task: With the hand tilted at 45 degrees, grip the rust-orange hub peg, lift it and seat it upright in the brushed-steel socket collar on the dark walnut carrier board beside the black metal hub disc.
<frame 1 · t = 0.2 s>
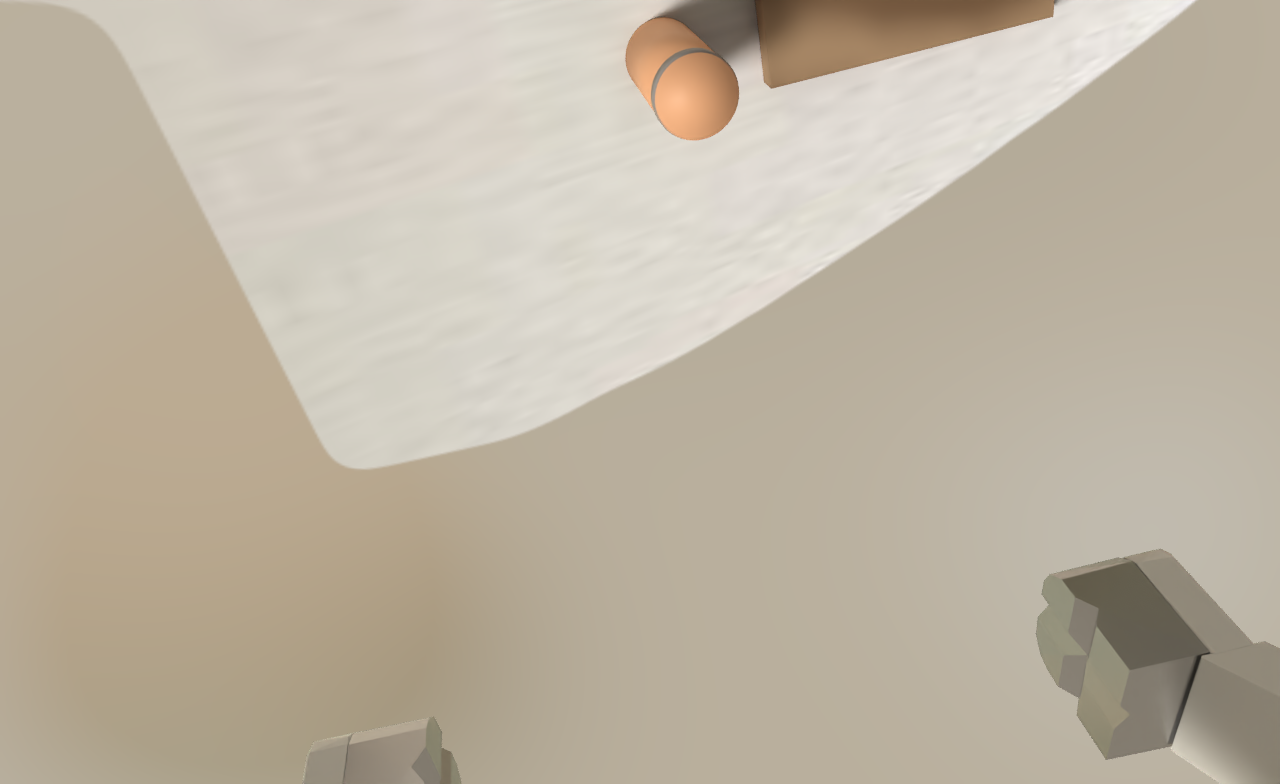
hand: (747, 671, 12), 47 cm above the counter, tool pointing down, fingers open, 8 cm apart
hub peg: (661, 56, 54), on the counter
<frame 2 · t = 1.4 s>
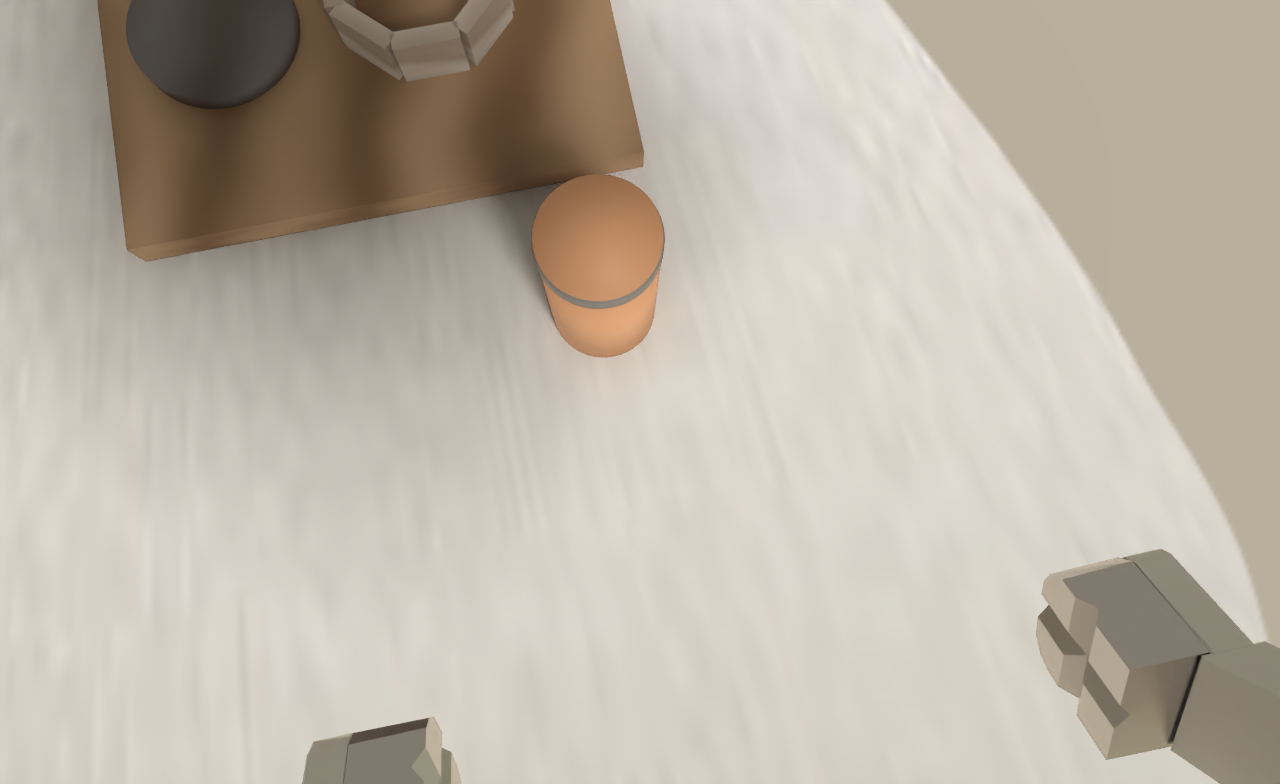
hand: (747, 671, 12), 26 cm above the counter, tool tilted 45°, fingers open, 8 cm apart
carrier board: (366, 29, 41), on the counter
hub peg: (603, 307, 39), on the counter
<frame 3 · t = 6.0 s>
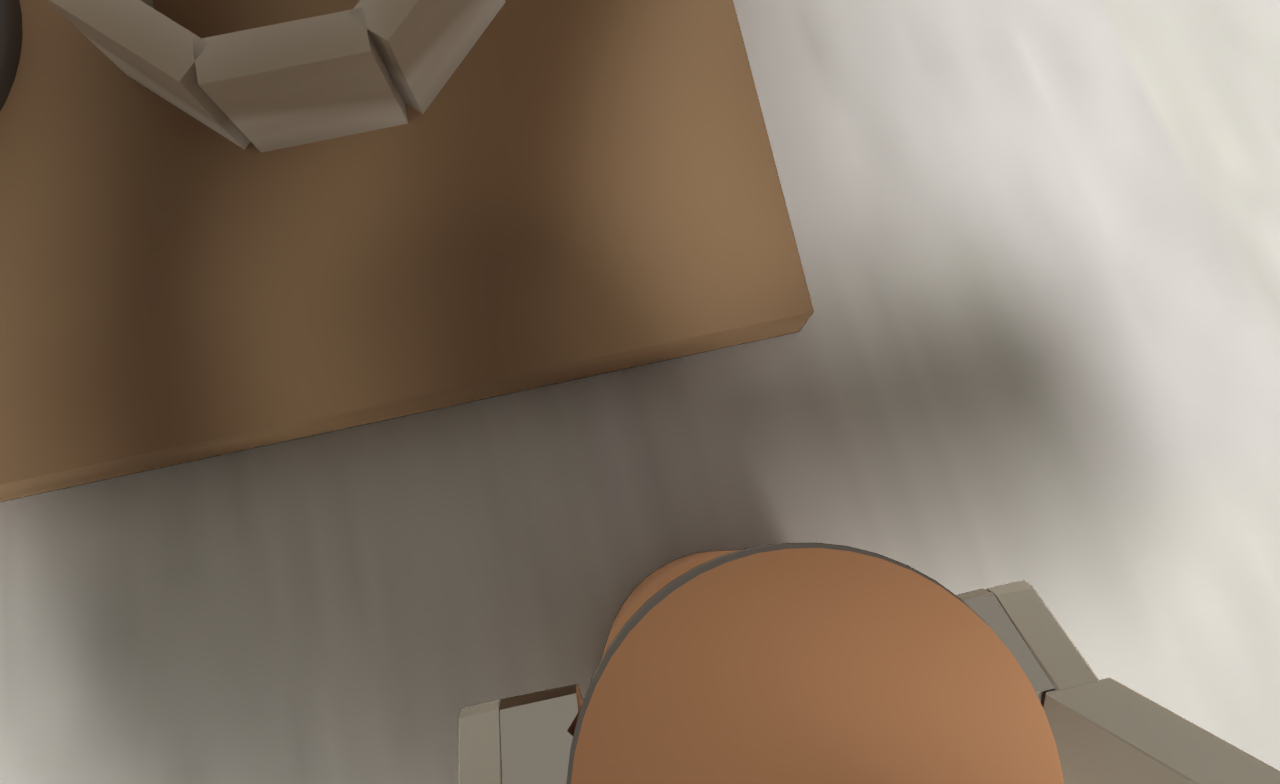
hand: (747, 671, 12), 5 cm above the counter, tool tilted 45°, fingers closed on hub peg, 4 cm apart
carrier board: (188, 33, 19), on the counter
hub peg: (721, 670, 17), on the counter, touching gripper
when the fingers open (8 cm above the counter, at t = 11.3 s): hub peg drops 1 cm, resting on carrier board.
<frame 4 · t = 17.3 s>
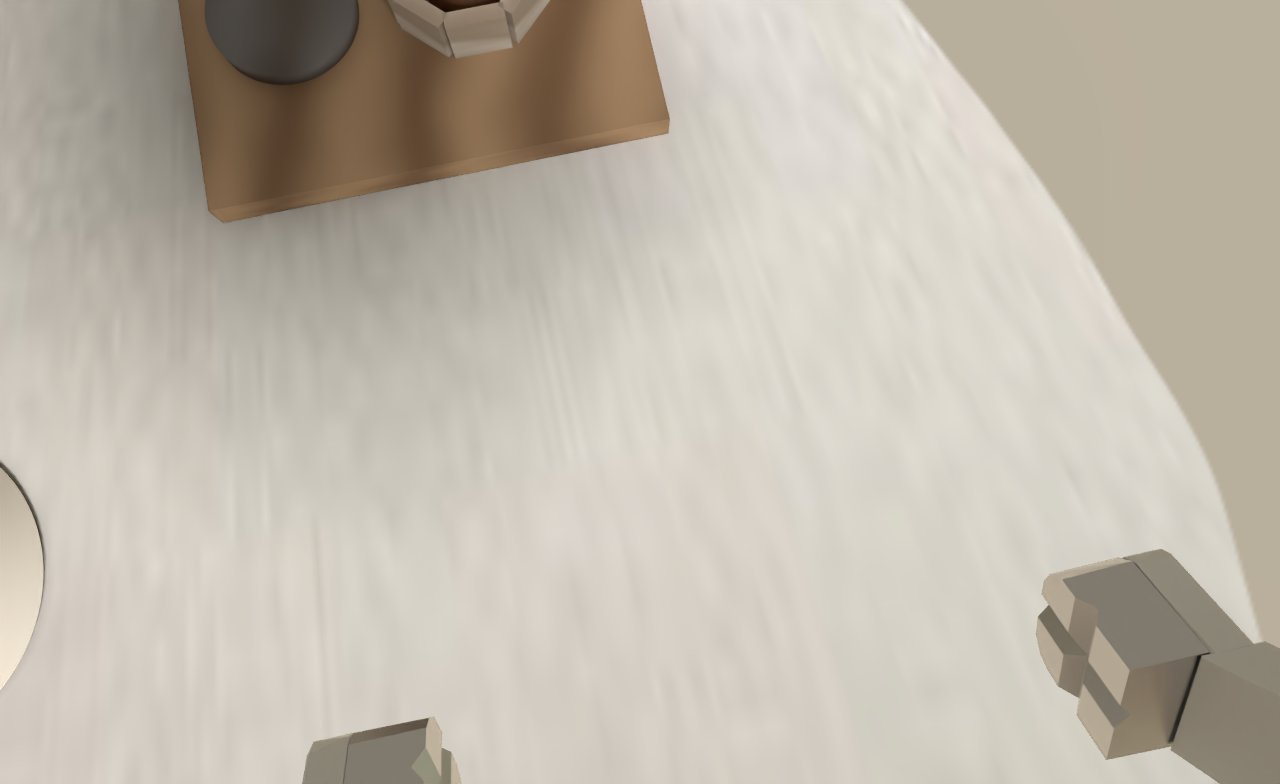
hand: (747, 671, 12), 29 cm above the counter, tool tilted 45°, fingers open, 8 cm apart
carrier board: (416, 12, 46), on the counter
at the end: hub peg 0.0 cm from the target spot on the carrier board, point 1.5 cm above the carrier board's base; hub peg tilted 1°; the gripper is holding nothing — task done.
